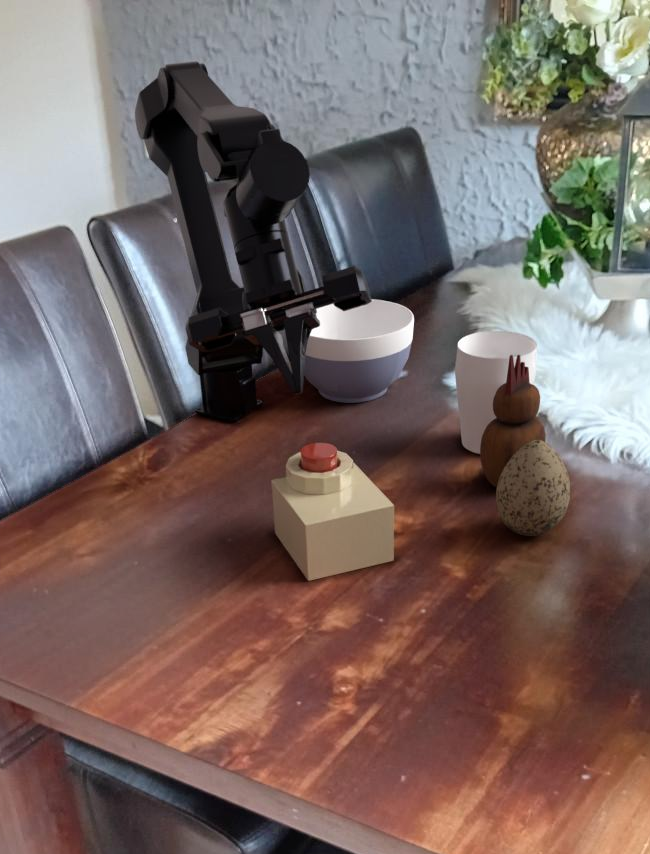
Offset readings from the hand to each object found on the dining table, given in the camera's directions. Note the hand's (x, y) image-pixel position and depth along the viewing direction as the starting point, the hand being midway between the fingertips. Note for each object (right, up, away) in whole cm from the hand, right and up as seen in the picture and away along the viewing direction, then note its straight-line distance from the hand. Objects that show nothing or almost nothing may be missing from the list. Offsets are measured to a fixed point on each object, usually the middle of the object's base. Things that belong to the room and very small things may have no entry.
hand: (298, 393), depth 103 cm
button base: (+4, -16, -2) cm, 17 cm away
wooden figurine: (+23, -8, +7) cm, 26 cm away
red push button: (+2, -8, -4) cm, 9 cm away
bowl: (+7, +8, +31) cm, 32 cm away
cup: (+23, -2, +15) cm, 28 cm away
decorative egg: (+23, -15, -2) cm, 28 cm away
